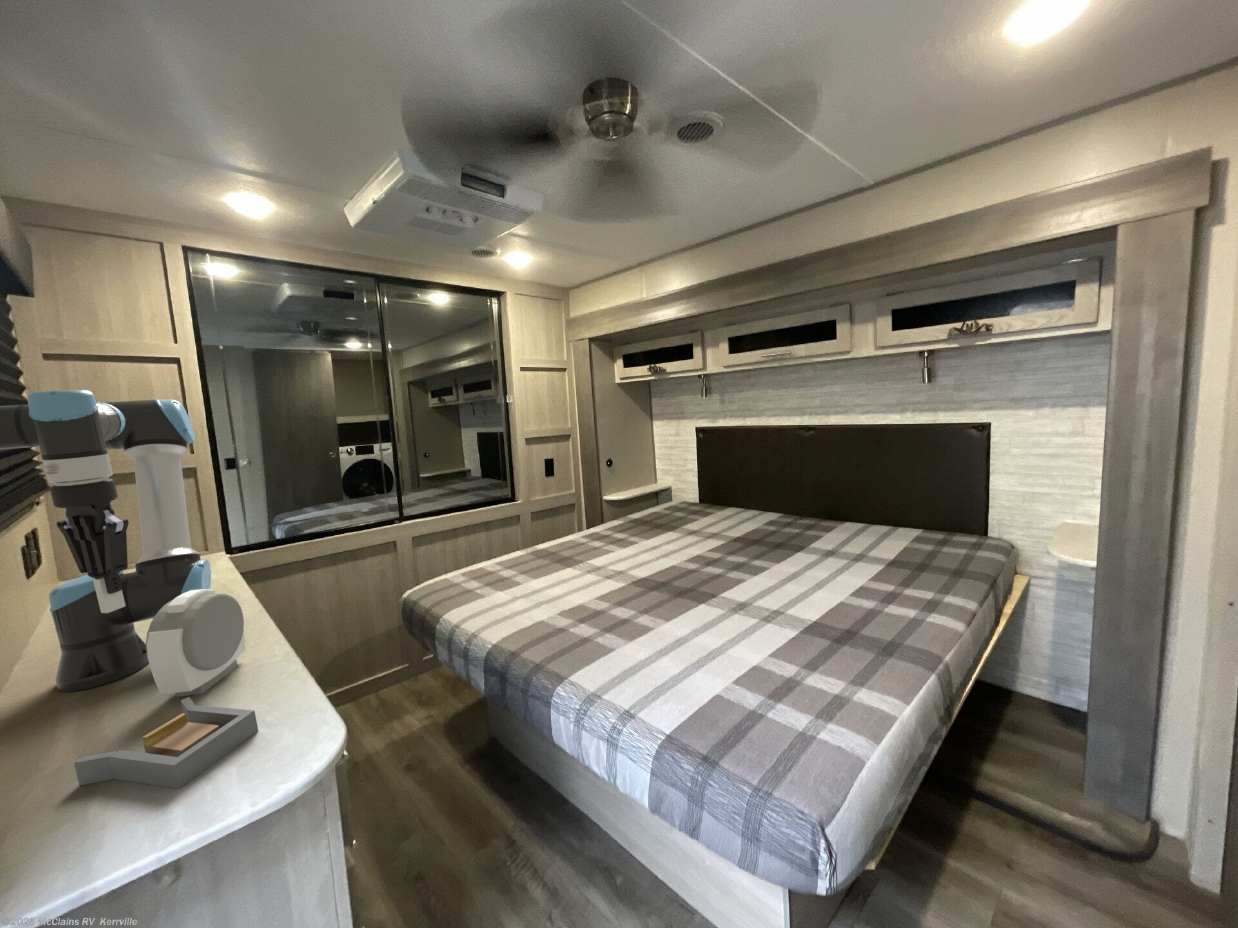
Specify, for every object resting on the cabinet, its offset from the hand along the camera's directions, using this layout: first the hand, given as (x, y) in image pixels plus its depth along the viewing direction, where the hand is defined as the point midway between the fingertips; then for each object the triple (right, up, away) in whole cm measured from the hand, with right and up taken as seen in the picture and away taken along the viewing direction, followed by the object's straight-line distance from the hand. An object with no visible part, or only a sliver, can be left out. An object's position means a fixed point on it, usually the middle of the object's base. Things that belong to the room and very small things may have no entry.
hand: (113, 609), depth 86 cm
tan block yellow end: (+17, -23, -4) cm, 29 cm away
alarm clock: (+1, -21, +19) cm, 28 cm away
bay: (+16, -23, -4) cm, 28 cm away
